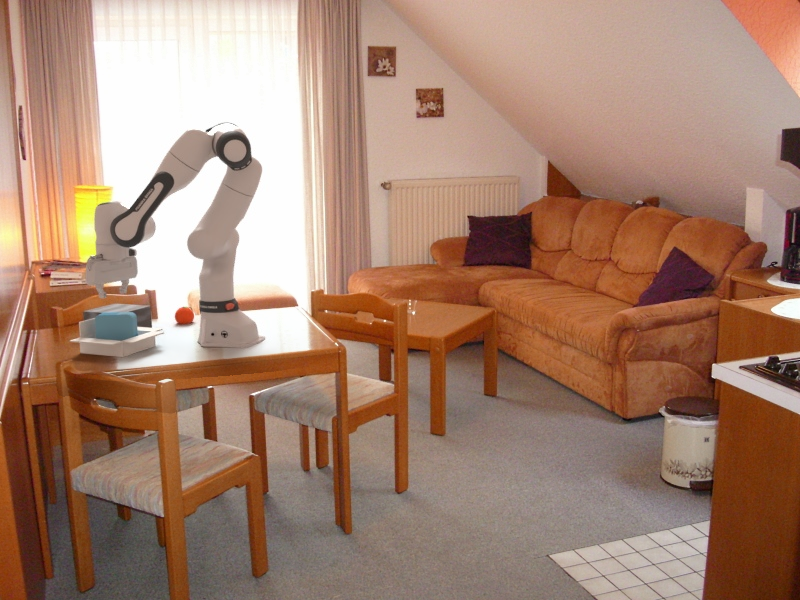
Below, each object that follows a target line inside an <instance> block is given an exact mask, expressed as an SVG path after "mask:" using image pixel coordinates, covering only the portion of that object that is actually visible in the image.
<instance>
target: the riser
mask: <svg viewBox="0 0 800 600" xmlns="http://www.w3.org/2000/svg"><path fill="white" fill-rule="evenodd" d="M151 309H152V307H151V305H147V304H146V305H142V304H129V303H128V304H126V303H112V304H107V305H102V306H98V307H95V308H91V309H87V310H83V311H82V318H83V320H82V321H85V320H89V319H93V318H95V317H96V316H98V315H99V314H101V313H112V312H133V313H135V314H136V316H137V327H147V328H153V323H152V321H153V320H152V310H151Z"/></svg>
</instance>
